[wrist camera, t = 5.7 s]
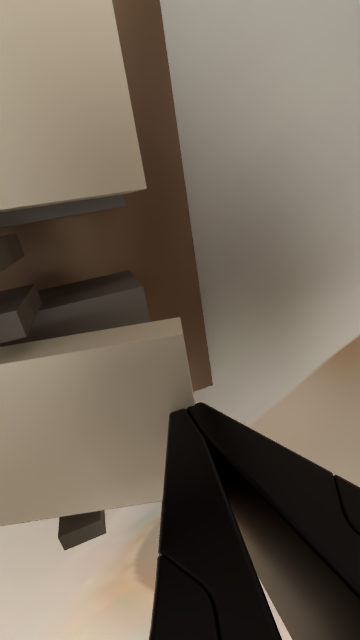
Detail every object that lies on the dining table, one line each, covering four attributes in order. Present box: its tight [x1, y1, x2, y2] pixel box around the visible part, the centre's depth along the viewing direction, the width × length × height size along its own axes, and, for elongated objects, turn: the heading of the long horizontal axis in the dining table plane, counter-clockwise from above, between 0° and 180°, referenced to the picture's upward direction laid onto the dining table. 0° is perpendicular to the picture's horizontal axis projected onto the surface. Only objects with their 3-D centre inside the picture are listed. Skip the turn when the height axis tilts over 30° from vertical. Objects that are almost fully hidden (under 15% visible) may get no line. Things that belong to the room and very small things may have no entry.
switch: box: [0, 317, 195, 526], centre depth 8 cm, size 8×5×1 cm, turn 99°
